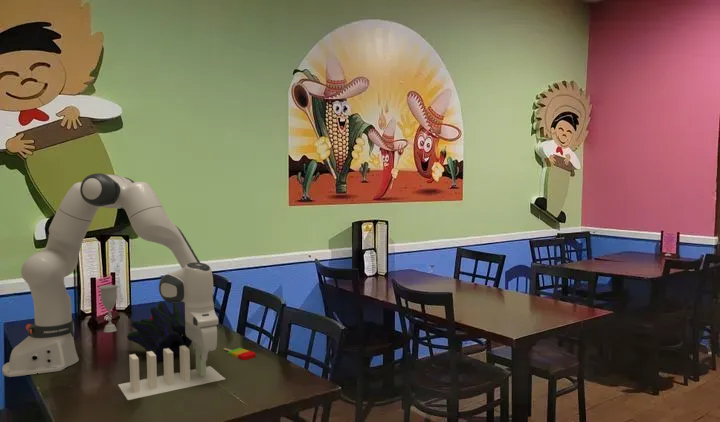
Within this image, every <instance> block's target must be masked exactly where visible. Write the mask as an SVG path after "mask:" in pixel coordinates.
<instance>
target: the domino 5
mask: <svg viewBox="0 0 720 422" xmlns="http://www.w3.org/2000/svg"><path fill="white" fill-rule="evenodd" d="M195 346H196V355H195V369H196V372H197V373H199V374H200V375H201V376H204V375H206V367H207V360H206V361H202V360H201V359H200V358H201V357H200V355H201V348H200V347H199V346H197V345H196V344H195Z"/></svg>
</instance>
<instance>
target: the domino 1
mask: <svg viewBox="0 0 720 422" xmlns="http://www.w3.org/2000/svg"><path fill="white" fill-rule="evenodd" d="M128 356H129V357H128V359H129V382H130V388H131V389H132V390H133V392H134V393H136V392H140V381H139V380H140V359H139V357H138V356H137V355H136V353H132V354H129V355H128Z"/></svg>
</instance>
